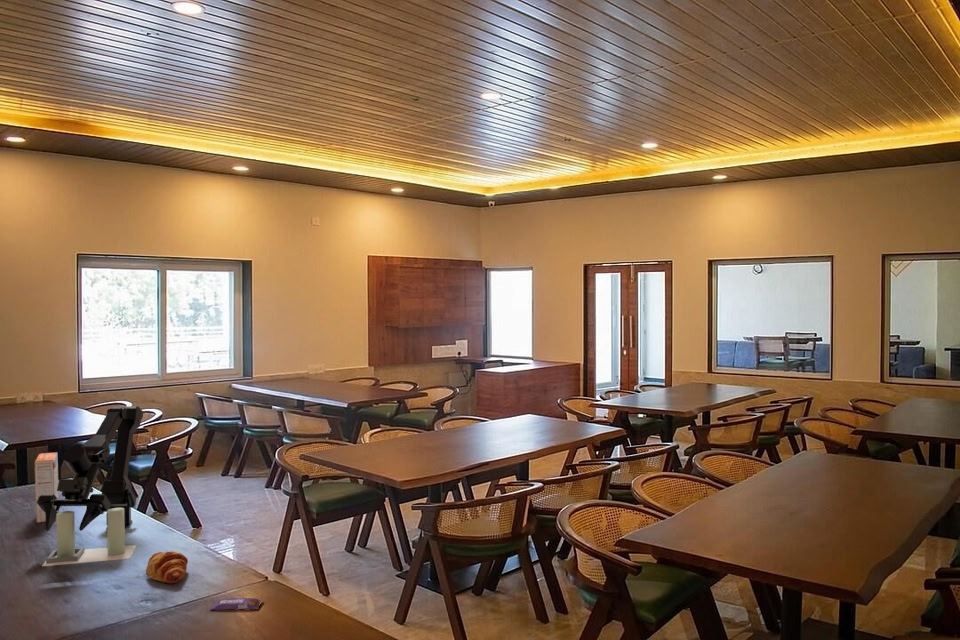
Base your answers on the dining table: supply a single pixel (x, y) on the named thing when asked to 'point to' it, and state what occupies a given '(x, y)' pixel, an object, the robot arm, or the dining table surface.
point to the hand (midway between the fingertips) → (63, 530)
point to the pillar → (65, 534)
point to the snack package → (236, 603)
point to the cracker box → (45, 480)
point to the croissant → (167, 566)
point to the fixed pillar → (115, 531)
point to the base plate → (87, 556)
